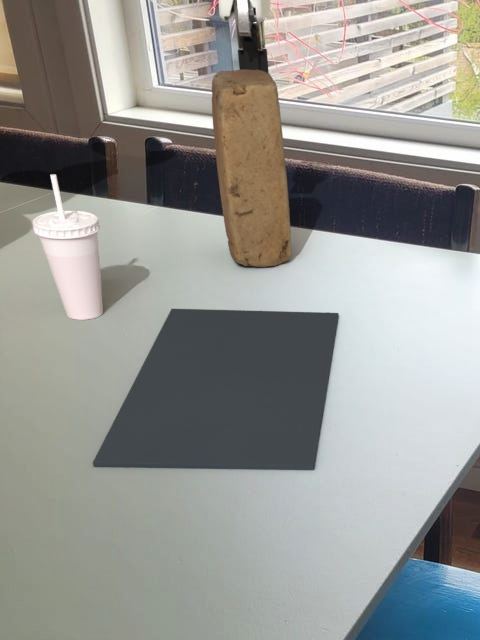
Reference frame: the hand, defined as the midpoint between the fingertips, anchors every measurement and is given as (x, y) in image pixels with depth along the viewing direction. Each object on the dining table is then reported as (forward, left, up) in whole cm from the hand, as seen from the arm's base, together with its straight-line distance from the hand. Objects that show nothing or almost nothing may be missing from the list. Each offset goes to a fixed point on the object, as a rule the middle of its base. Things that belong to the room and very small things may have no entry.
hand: (255, 86), depth 120 cm
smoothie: (-16, -30, -17) cm, 38 cm away
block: (0, -10, -17) cm, 20 cm away
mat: (+2, -46, -17) cm, 49 cm away
